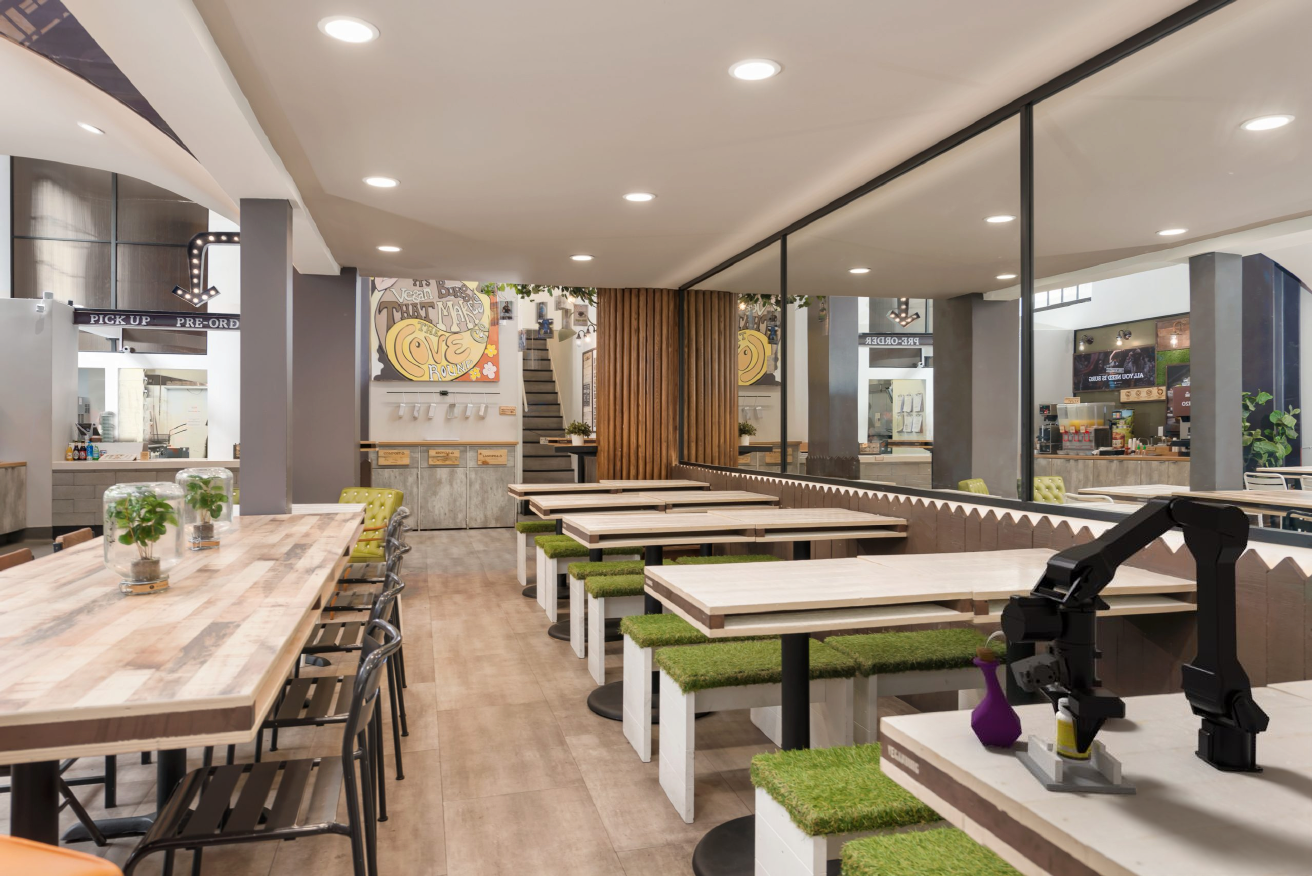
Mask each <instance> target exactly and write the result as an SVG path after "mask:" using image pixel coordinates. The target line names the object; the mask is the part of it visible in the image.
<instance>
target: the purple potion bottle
mask: <svg viewBox="0 0 1312 876" xmlns="http://www.w3.org/2000/svg"><path fill="white" fill-rule="evenodd" d="M997 636H1004V637H1006V636H1005V635H1004V633H1003V630H998V631H995V632H993V633H992V634H991V635H990V636H989V637H988V639H987V641H986V644H985V646H978V647H976V648H975V650H976V654H977V657H975V658H973V664H974V665H977V666H978V667H979V668H980V670H981V672H982V675H983V676H984V679H985V683H986V694H985V697H984V698H983V699H982V700H981V702H979V704H978V705H977V706H976V707H974V709H973V710H972V711H971V713H970V715H971V717H970V719H971V720H970V728H971V730H973V732H974V734H975V735H976V737H977V738H978V740H979V742H980V744H981V745H984V746H990V747H997V748H1003V749H1004V748H1005V749H1010V748H1012V746H1013V745H1014V744H1015V743H1016V741H1017V740H1018V738H1020V736H1021V735H1022V734H1023V730H1022V723H1021V722H1022V721H1021V717H1020V716H1019V715H1018V713H1017V712H1016V711H1015V709H1014V708H1013V706H1012V705H1011V704H1010V702H1009V701H1008V698H1007V696H1005V693H1004V691H1003V689H1002V686H1001V684H1000V680H999V679H998V676H997V672H996V671H997V668H998V667H999V666H1001V662H1000V660H999V659H997V658H996V652H995V650H994V649H992V648H990V647H988V643H989V641H990V640H991V639H992V638H994V637H997ZM1009 643H1010V644H1009V645H1010V647H1011V646H1012V642H1010V641H1009Z"/></svg>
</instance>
